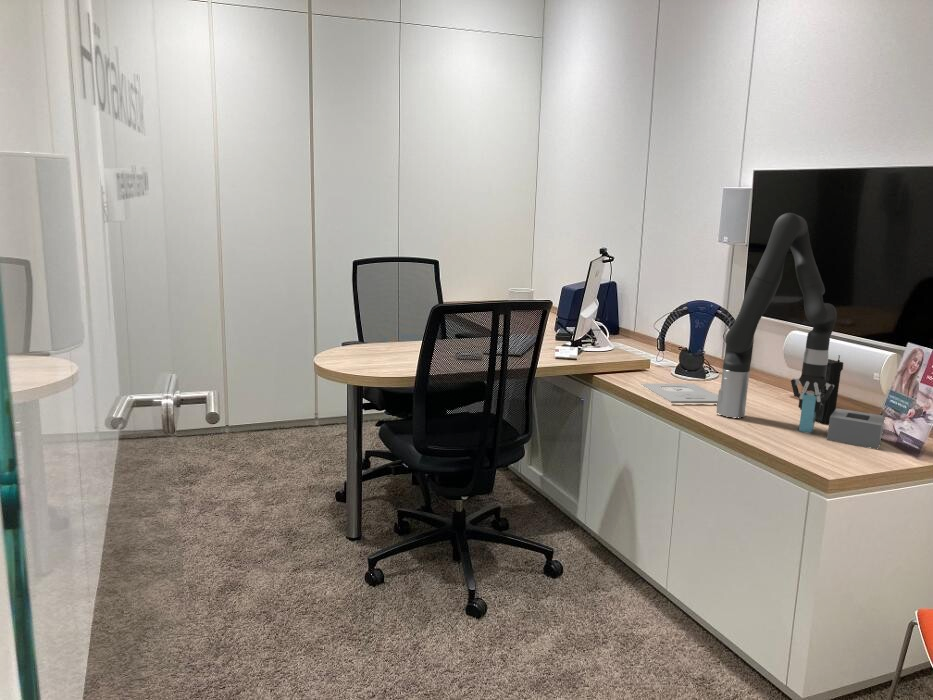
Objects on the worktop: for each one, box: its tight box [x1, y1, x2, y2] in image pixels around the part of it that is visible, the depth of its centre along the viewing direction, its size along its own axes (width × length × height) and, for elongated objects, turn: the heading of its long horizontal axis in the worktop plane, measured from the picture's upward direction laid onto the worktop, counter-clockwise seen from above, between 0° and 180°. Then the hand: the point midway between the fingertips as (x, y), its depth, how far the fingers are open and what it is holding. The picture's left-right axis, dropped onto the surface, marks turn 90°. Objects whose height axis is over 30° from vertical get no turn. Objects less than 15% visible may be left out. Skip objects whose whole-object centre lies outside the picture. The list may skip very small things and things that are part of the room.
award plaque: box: [639, 382, 718, 403], centre depth 298 cm, size 25×30×2 cm
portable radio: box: [813, 354, 844, 425], centre depth 265 cm, size 8×6×25 cm
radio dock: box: [826, 407, 886, 449], centre depth 245 cm, size 15×15×8 cm
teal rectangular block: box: [798, 391, 817, 434], centre depth 252 cm, size 4×5×13 cm
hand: (808, 410), depth 252 cm, fingers closed on teal rectangular block, 4 cm apart
